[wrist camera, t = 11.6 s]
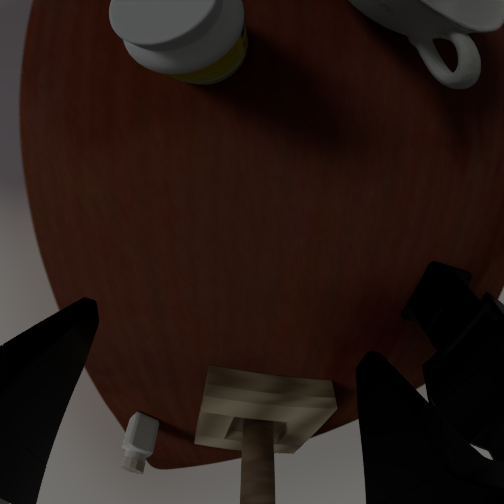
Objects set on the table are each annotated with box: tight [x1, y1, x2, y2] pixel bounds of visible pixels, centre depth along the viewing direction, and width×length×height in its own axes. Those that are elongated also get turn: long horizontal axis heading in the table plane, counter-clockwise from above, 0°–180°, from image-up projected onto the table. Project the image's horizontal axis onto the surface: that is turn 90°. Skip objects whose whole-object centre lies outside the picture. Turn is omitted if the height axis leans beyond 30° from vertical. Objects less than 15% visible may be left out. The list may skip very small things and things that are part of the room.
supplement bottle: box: [109, 0, 248, 85], centre depth 10 cm, size 5×5×10 cm
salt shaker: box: [122, 412, 159, 474], centre depth 32 cm, size 4×4×10 cm
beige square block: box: [194, 365, 337, 453], centre depth 30 cm, size 14×14×4 cm
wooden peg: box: [240, 418, 275, 504], centre depth 25 cm, size 4×4×12 cm
